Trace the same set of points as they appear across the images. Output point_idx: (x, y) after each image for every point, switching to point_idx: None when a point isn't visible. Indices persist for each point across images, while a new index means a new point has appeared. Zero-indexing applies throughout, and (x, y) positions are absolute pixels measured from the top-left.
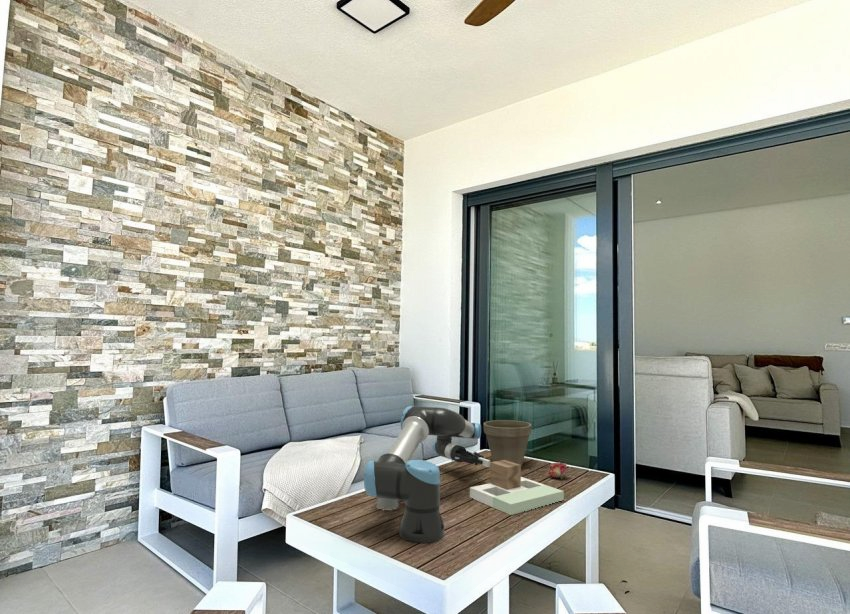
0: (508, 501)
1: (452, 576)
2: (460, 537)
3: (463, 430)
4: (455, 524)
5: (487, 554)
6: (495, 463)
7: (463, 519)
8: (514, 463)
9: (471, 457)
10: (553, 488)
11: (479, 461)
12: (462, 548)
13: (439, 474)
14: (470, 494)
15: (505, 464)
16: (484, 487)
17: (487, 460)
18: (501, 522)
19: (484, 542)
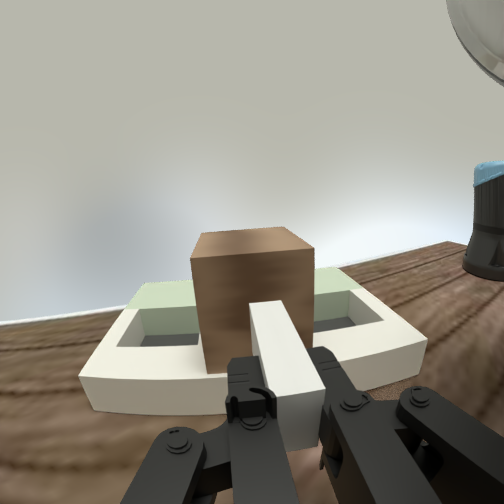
0: (333, 272)
1: (441, 241)
2: (440, 264)
3: (470, 52)
4: (451, 280)
5: (409, 249)
6: (297, 241)
7: (439, 288)
8: (204, 238)
9: (414, 470)
10: (142, 293)
11: (334, 364)
12: (436, 255)
13: (474, 174)
14: (419, 361)
15: (257, 235)
16: (364, 334)
17: (273, 307)
18: (368, 279)
19: (409, 257)
